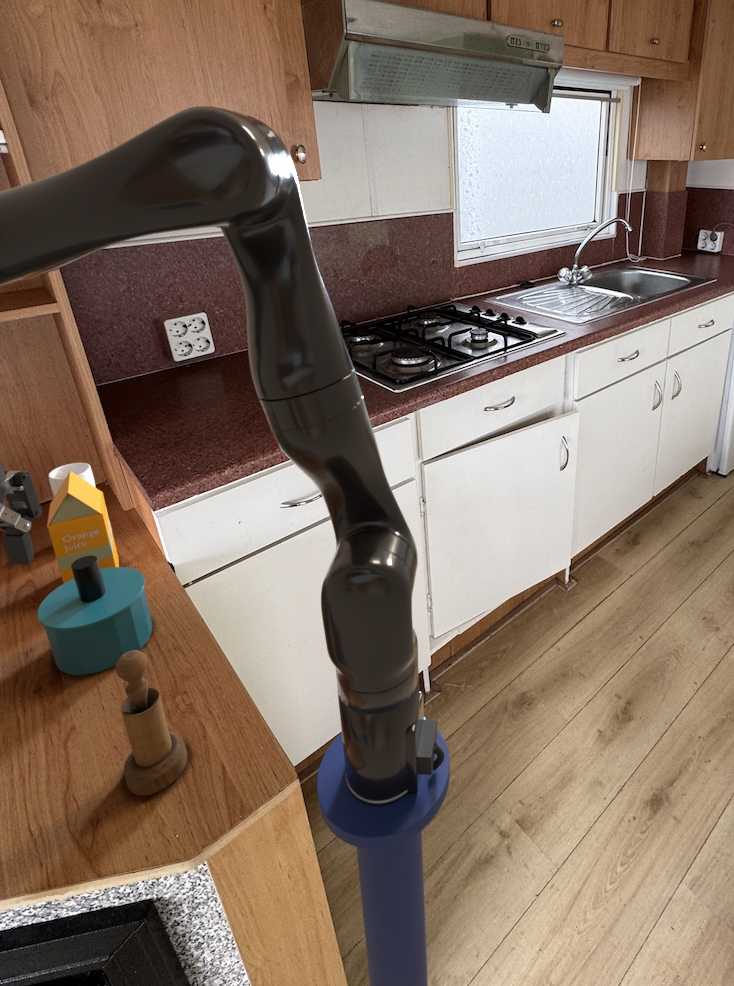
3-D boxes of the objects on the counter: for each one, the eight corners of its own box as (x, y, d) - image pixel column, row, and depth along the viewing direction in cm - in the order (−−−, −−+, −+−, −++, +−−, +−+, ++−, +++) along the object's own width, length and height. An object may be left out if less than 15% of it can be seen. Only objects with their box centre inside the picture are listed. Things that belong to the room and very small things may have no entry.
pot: (140, 602, 99) (131, 560, 96) (161, 644, 90) (151, 600, 87) (49, 640, 90) (36, 595, 88) (63, 690, 82) (48, 643, 79)
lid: (133, 561, 96) (125, 525, 94) (156, 603, 87) (147, 564, 85) (33, 598, 88) (21, 559, 85) (46, 649, 79) (33, 607, 76)
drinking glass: (69, 551, 111) (50, 483, 106) (63, 535, 116) (45, 469, 111) (110, 537, 115) (93, 471, 110) (103, 523, 120) (87, 458, 115)
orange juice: (119, 557, 110) (96, 464, 103) (120, 584, 103) (96, 485, 96) (68, 572, 106) (41, 475, 99) (66, 600, 99) (37, 498, 92)
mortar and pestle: (134, 752, 73) (104, 640, 67) (191, 737, 75) (167, 627, 69) (120, 803, 67) (86, 686, 61) (182, 786, 69) (155, 670, 63)
